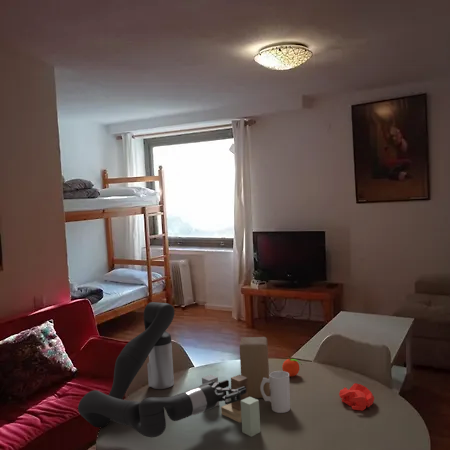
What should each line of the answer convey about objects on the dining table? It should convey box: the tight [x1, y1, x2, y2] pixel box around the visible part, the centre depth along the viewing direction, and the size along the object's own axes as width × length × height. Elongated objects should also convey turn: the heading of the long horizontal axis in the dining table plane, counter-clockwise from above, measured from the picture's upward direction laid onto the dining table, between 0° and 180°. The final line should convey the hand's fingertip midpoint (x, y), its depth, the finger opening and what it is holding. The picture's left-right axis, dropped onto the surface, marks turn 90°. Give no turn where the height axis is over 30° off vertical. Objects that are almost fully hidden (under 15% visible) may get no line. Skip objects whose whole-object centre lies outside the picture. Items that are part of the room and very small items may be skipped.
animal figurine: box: [338, 382, 375, 412], centre depth 158 cm, size 12×15×5 cm
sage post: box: [241, 397, 261, 437], centre depth 140 cm, size 4×4×10 cm
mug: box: [260, 370, 291, 414], centre depth 155 cm, size 10×7×12 cm, turn 82°
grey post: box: [201, 374, 220, 408], centre depth 161 cm, size 4×4×10 cm
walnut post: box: [230, 374, 248, 411], centre depth 152 cm, size 4×4×10 cm
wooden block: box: [239, 336, 271, 399], centre depth 168 cm, size 10×10×20 cm
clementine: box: [281, 358, 303, 378], centre depth 183 cm, size 8×7×7 cm
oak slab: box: [220, 403, 242, 423], centre depth 153 cm, size 9×9×3 cm
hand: (236, 386), depth 151 cm, fingers open, 8 cm apart
